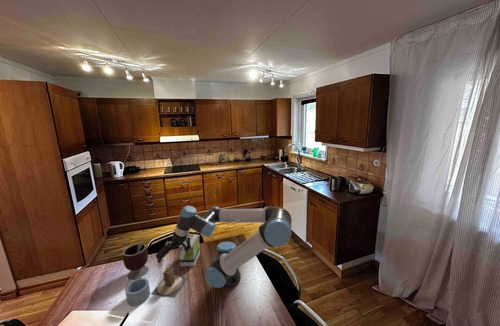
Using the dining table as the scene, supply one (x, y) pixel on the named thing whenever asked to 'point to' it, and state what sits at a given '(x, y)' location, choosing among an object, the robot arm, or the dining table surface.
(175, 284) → the lid
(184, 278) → the mat
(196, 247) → the tea box
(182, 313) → the dining table surface
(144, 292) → the bowl
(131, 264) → the mate gourd
